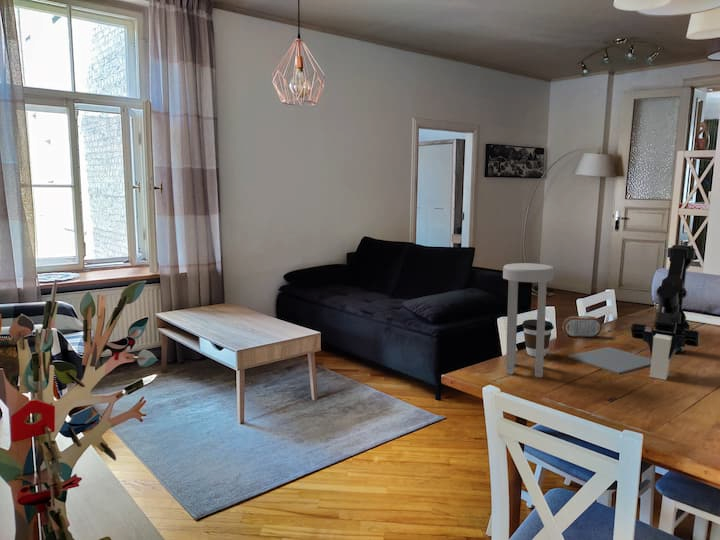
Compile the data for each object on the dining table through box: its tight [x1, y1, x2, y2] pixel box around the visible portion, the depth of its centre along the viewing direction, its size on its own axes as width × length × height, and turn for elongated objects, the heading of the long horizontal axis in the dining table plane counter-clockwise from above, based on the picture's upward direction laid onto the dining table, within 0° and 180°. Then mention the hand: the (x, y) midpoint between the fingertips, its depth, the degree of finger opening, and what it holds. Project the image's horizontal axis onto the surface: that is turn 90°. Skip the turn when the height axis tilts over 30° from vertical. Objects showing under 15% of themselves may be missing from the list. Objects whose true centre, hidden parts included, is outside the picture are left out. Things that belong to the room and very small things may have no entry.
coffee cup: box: [521, 318, 554, 358], centre depth 190 cm, size 11×11×12 cm
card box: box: [649, 334, 672, 381], centre depth 166 cm, size 5×4×13 cm
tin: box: [561, 315, 603, 338], centre depth 213 cm, size 15×3×8 cm, turn 84°
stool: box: [502, 262, 555, 378], centre depth 172 cm, size 16×16×35 cm
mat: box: [567, 346, 651, 375], centre depth 184 cm, size 22×20×1 cm
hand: (660, 357), depth 165 cm, fingers closed on card box, 4 cm apart
